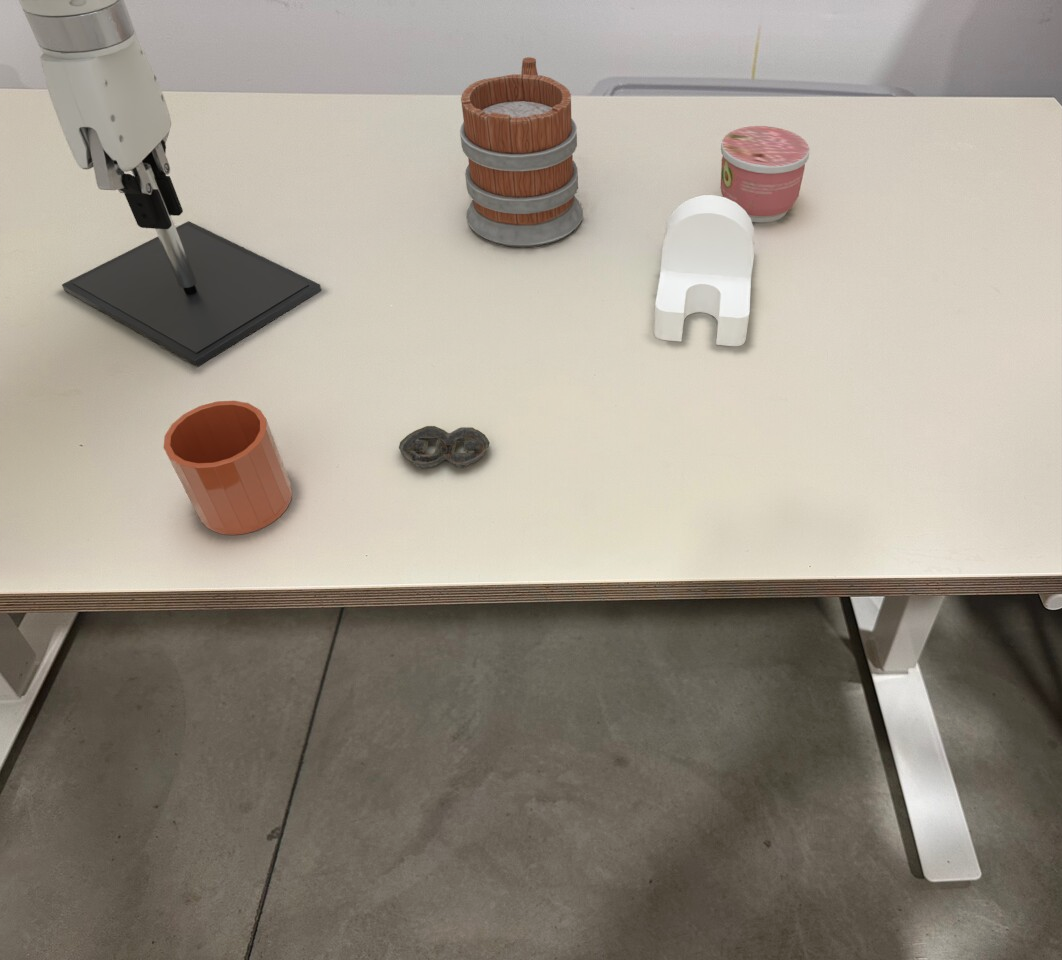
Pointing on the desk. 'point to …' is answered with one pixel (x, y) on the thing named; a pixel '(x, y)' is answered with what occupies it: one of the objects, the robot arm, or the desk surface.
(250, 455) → the holder
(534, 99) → the mug
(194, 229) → the tablet
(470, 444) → the corroded twin loop
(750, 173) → the container
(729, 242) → the u-slot stand
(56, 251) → the desk surface
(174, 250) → the stylus
